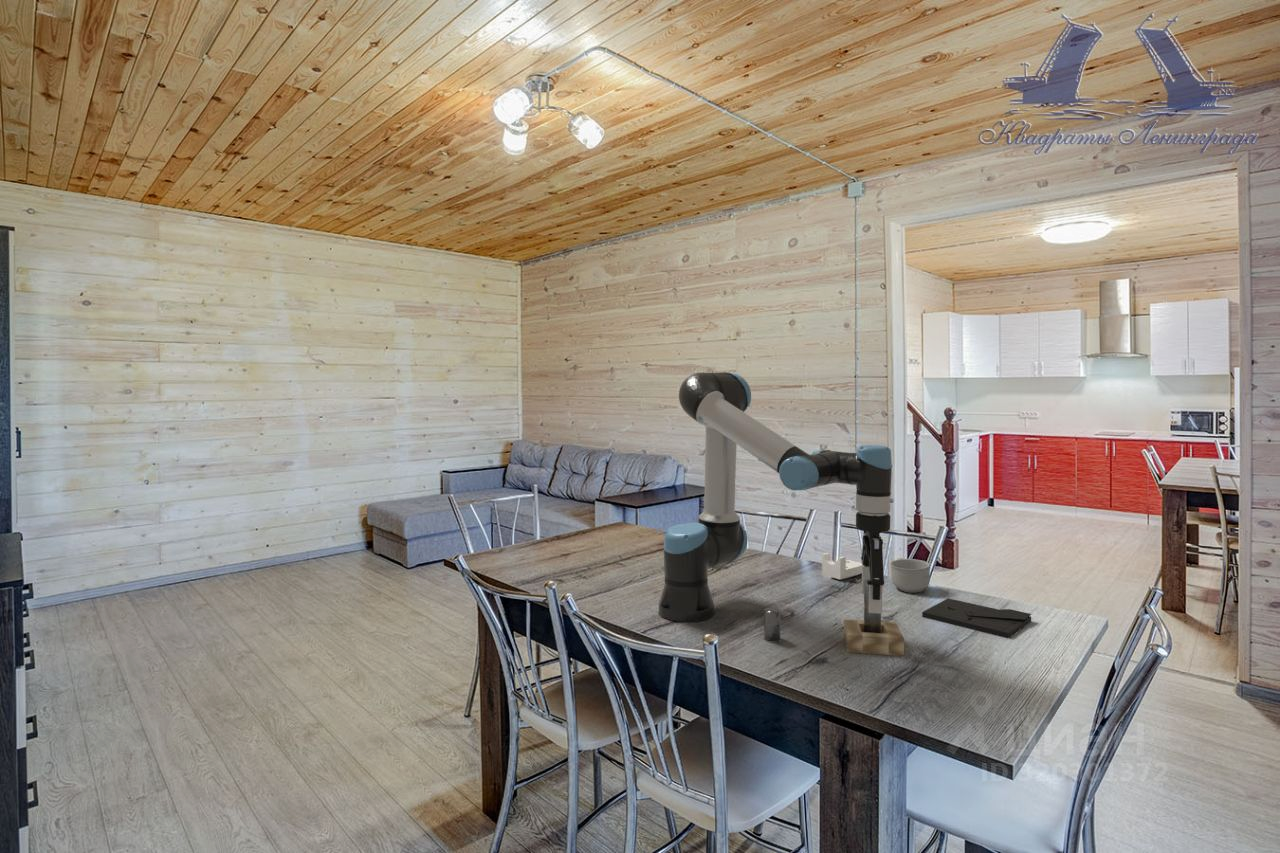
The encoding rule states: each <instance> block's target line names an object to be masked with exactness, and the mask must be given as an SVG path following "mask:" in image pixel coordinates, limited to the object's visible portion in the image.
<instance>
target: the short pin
mask: <svg viewBox="0 0 1280 853" xmlns="http://www.w3.org/2000/svg"><path fill="white" fill-rule="evenodd" d="M763 639H764V641H766V640H767V641H766V642H769V641H778V642H779V640H780V641H781V610H780V609H778V608H777V607H766V608H764V609H763Z"/></svg>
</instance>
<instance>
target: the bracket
mask: <svg viewBox="0 0 1280 853" xmlns="http://www.w3.org/2000/svg"><path fill="white" fill-rule="evenodd" d="M846 558H847V557H846V556H840V557H837V561H836V562H835V561H834V560H833V559H832V558H831V553H829V552H825V553H821V577H822V578H826V579H829V580H832V579H837V580H844V579H848V578H851V577H855V576H858V575H862V566H864V565H862V562H860V561H854V560H851V559H846Z"/></svg>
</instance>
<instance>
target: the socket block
mask: <svg viewBox="0 0 1280 853" xmlns="http://www.w3.org/2000/svg"><path fill="white" fill-rule="evenodd" d="M843 636H844V641H845V647H846V651H847V652H848V653H856V654H857V653H858V654H861V653H862V654H871V655H872V654H875V655H886V656H887V655H888V656H905V654H904V652H905V645H904V644H905V637H904V636H903V633H902V631H901V630H900V628H899V625H898V623H897V622H893V621H881V633H867V632H864V620H861V619H860V620H859V619H843Z"/></svg>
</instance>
